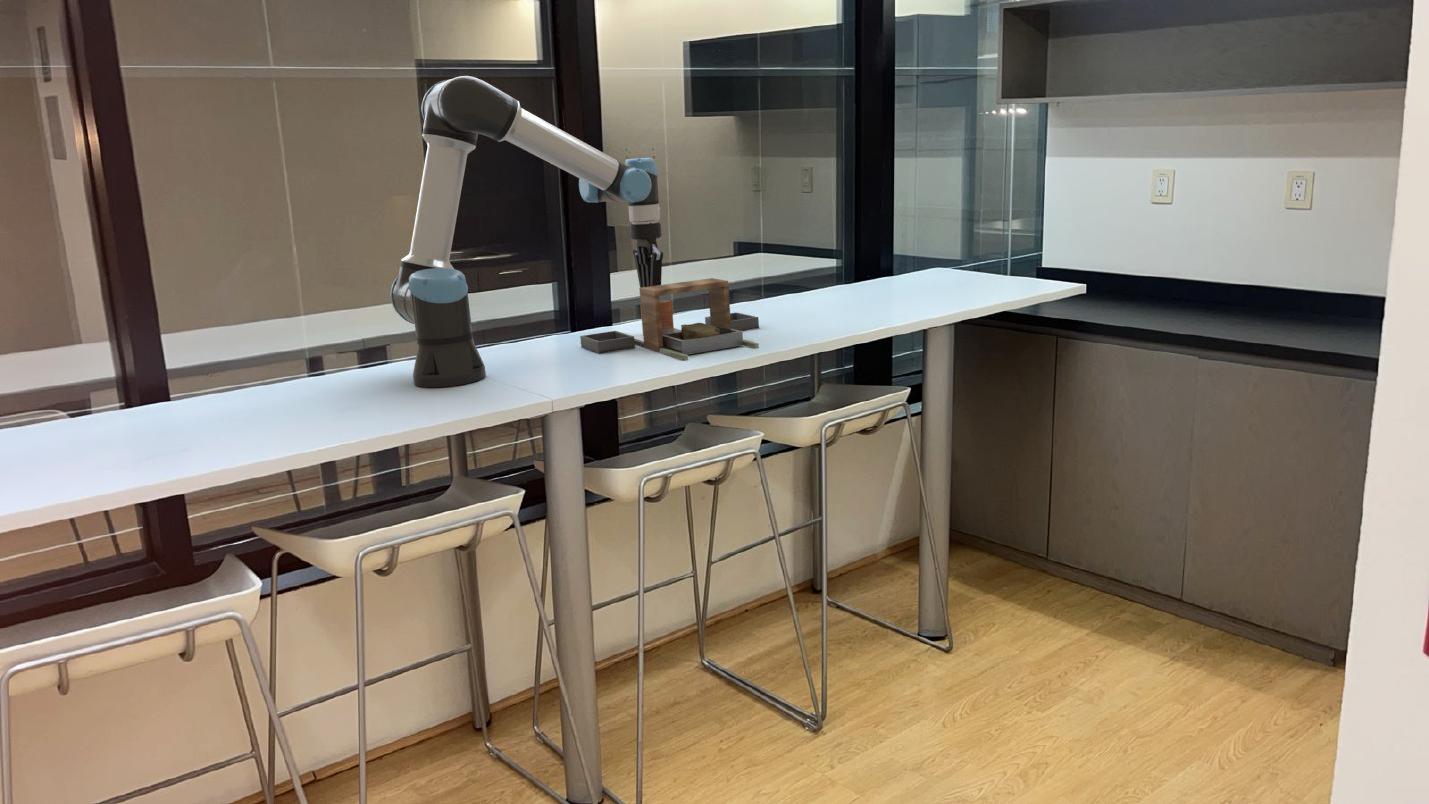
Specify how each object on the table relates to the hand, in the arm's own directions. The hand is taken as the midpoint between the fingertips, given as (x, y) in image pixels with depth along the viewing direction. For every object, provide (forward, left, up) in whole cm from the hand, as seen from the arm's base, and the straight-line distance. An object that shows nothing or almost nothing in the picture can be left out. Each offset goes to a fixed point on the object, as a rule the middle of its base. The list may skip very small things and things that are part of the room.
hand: (652, 317), depth 265 cm
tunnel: (0, -17, -4) cm, 17 cm away
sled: (0, -17, -4) cm, 17 cm away
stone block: (0, -26, -4) cm, 26 cm away
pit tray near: (-16, -8, -4) cm, 18 cm away
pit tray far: (+18, -8, -4) cm, 20 cm away
